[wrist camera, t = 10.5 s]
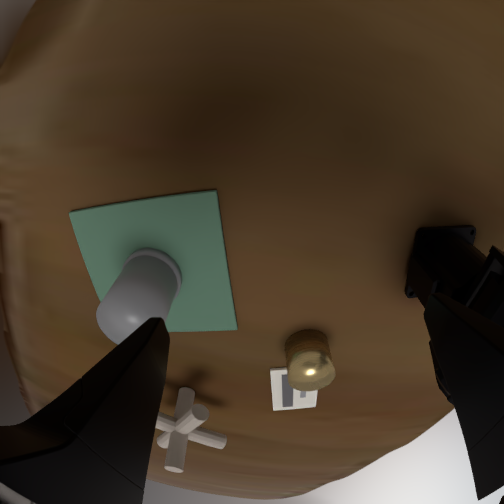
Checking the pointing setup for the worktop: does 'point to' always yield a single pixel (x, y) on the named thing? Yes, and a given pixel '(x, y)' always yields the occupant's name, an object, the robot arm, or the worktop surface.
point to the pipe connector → (185, 430)
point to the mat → (171, 242)
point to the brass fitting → (308, 361)
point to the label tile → (289, 392)
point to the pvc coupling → (139, 293)
